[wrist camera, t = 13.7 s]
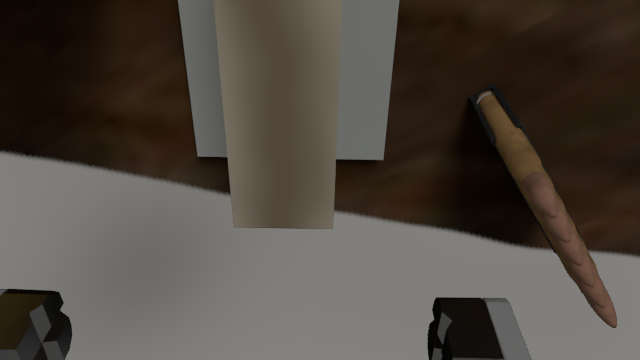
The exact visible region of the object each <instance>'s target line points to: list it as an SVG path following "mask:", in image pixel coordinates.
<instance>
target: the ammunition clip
mask: <svg viewBox="0 0 640 360" xmlns="http://www.w3.org/2000/svg"><path fill="white" fill-rule="evenodd" d="M469 101H470V102H471V104H472V106H473V108H474V110H475V112H476V114H477V116H478V118H479V120H480V122H481V124H482V126H483V128H484V129H485V131H486V133H487V135H488V137H489V139H490V141H491V143H492V144H493V146H494V148H495V150H496V151H497V153H498V155H499V157H500V158H501V160H502V162H503V164H504V165H505V167H506V169H507V171H508V172H509V174H510V176H511V178H512V179H513V181H514V183H515V185H516V186H517V188H518V190H519V192H520V193H521V195H522V197H523V198H524V200H525V202H526V204H527V205H528V207H529V209H530V211H531V212H532V214H533V216H534V218H535V219H536V221H537V223H538V225H539V226H540V228H541V230H542V232H543V233H544V235H545V237H546V239H547V240H548V242H549V244H550V246H551V247H552V249H553V251H554V253H557V255H558V257H559V258H560V260H561V262H562V264H563V265H564V267H565V269H566V271H567V273H568V274H569V276H570V277H571V278H572V279H573V281H574V282H575V283H576V284H577V285H578V287H579V289H580V290H581V292H582V293H583V294H584V296H585V298H586V299H587V301H588V303H589V304H590V306H591V307H592V308H593V310H594V311H595V312H596V314H597V315H598V316H599V317H600V318H601V319H602V320H603V321H604V322H605V323H606V324H608V325H609V326H611V327H613V328H616V326H617V317H616V313H615V309H614V306H613V303H612V301H611V299H610V296H609V294H608V292H607V290H606V289H605V287H604V285H603V282H602V281H601V279H600V277H599V275H598V271H597V268H596V265H595V263H594V261H593V259H592V258H591V256H590V254H589V253H588V251H587V249H586V246H585V244H584V242H583V240H582V238H581V236H580V234H579V232H578V230H577V228H576V226H575V224H574V223H573V221H572V219H571V217H570V215H569V213H568V211H567V209H566V207H565V205H564V204H563V202H562V200H561V198H560V196H559V194H558V192H557V190H556V188H555V186H554V185H553V183H552V181H551V179H550V177H549V175H548V173H547V171H546V169H545V167H544V165H543V164H542V162H541V160H540V158H539V156H538V154H537V152H536V150H535V148H534V146H533V145H532V143H531V141H530V139H529V137H528V135H527V133H526V131H525V129H524V127H523V126H522V124H521V122H520V121H519V119H518V117H517V116H516V114H515V113H514V111H513V110H512V108H511V107H510V105H509V103H508V102H507V100H506V99H505V97H504V96H503V94H502V93H501V91H500V89H499V88H498V86H497V85H496V84H492V85H491V86H489V87H487V88H485V89H483V90H482V91H480V92H478V93H476V94H474V95H473V96H471V97H469Z"/></svg>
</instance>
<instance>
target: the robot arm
mask: <svg viewBox="0 0 640 360" xmlns="http://www.w3.org/2000/svg"><path fill="white" fill-rule="evenodd" d="M62 305H63V300H62V298H61V295H60V293H59V292H56V291H46V290H45V291H44V290H23V289H0V360H65V358H66V355H67V353H68V351H69V348H70V344H71V339H72V328H71V322H70V320H69V317H68V316H66V315H65V314H64V313H62V312H61V311H60V309H61V307H62ZM432 311H433V316H434V321H433V322H431V323H430V325H429V330H428V356H429V360H532V359H531V357H530V354H529V352H528V349H527V347H526V344H525V341H524V339H523V336H522V334H521V331H520V329H519V326H518V323H517V321H516V318H515V316H514V313H513V310H512V308H511V305H510V303H509V301H508V300H507V299H506V298H482V299H481V298H436V299H435V301H434V304H433V309H432Z"/></svg>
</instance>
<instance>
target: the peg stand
mask: <svg viewBox="0 0 640 360" xmlns="http://www.w3.org/2000/svg"><path fill="white" fill-rule="evenodd" d="M178 4H179V12H180V20H181V28H182V36H183V44H184V52H185V60H186V68H187V76H188V84H189V92H190V100H191V108H192V116H193V123H194V131H195V139H196V147H197V155H198V156H200V157H227V146H226V135H225V124H224V113H223V101H222V90H221V79H220V68H219V57H218V46H217V35H216V24H215V12H214V1H213V0H178ZM398 7H399V0H343V4H342V28H341V52H340V75H339V99H338V122H337V146H336V159H357V160H383V157H384V147H385V137H386V127H387V117H388V107H389V97H390V87H391V77H392V67H393V57H394V47H395V37H396V27H397V17H398Z"/></svg>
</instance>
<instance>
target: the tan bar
mask: <svg viewBox="0 0 640 360" xmlns="http://www.w3.org/2000/svg"><path fill="white" fill-rule="evenodd" d="M213 1H214V12H215V24H216V35H217V46H218V57H219V68H220V79H221V90H222V101H223V113H224V124H225V135H226V146H227V157H228V168H229V179H230V190H231V201H232V213H233V224H234V227H241V228H242V227H243V228H296V229H298V228H299V229H333V216H334V193H335V169H336V146H337V122H338V99H339V75H340V52H341V28H342V4H343V0H213Z"/></svg>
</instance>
